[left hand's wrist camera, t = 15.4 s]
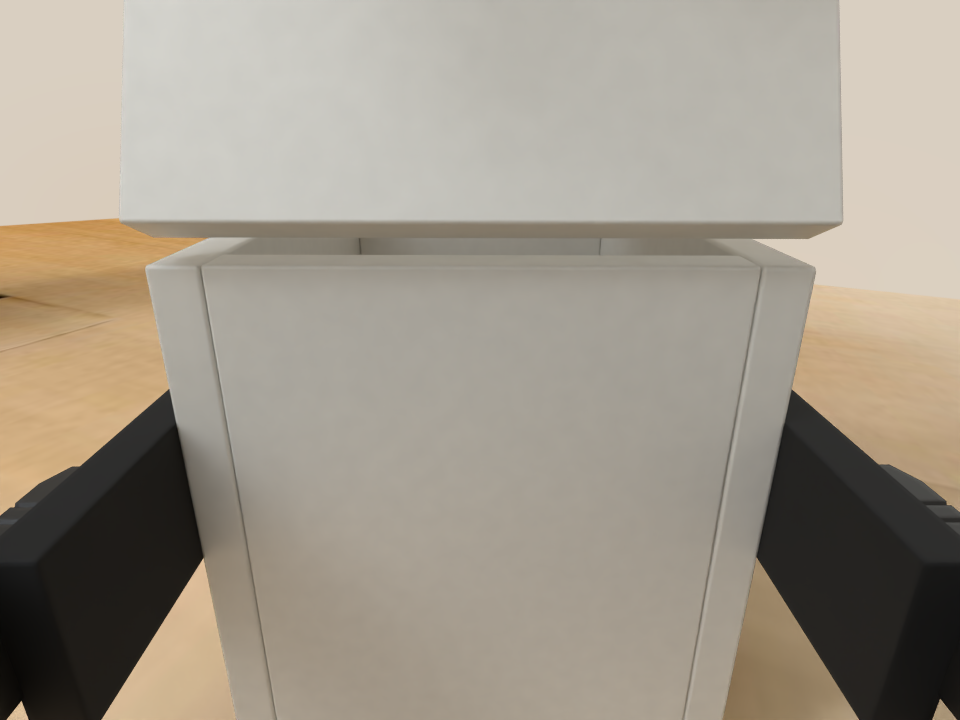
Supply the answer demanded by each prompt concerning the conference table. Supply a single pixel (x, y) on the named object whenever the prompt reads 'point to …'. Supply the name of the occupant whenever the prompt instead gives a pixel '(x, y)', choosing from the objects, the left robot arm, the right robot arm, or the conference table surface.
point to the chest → (480, 467)
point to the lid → (481, 119)
